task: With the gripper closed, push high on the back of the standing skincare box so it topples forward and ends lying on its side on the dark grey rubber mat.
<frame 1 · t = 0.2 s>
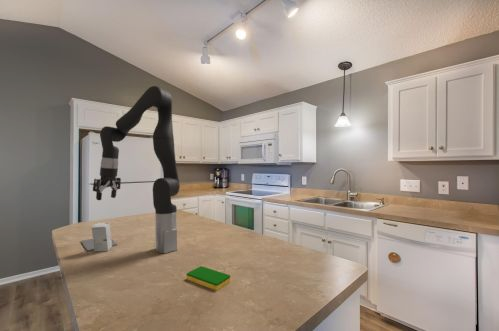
hand: (106, 198, 117), 22 cm above the counter, tool pointing down, fingers open, 8 cm apart
skincare box: (104, 249, 108), on the counter
dish sponge: (208, 281, 78), on the counter
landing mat: (98, 243, 117), on the counter
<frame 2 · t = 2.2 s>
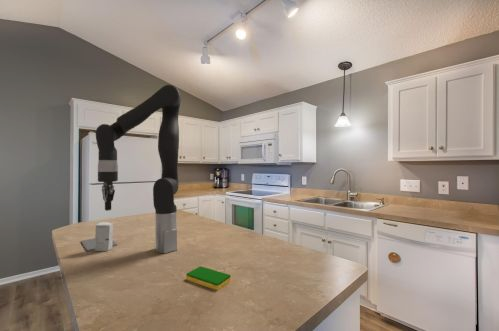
hand: (108, 210, 102), 19 cm above the counter, tool pointing down, fingers closed
skincare box: (104, 249, 108), on the counter, touching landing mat
everything else where it was.
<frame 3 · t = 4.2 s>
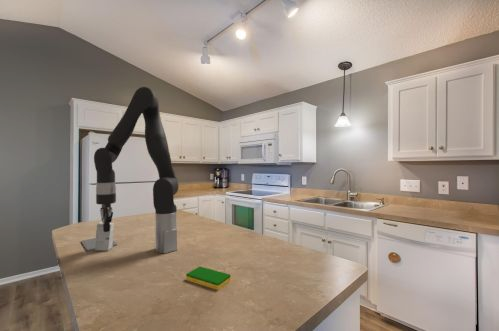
hand: (106, 231, 104), 10 cm above the counter, tool pointing down, fingers closed
skincare box: (104, 249, 108), on the counter, touching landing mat
everything else where it was.
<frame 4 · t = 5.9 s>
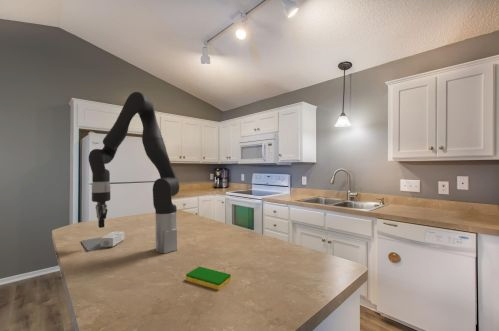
hand: (101, 227, 111), 10 cm above the counter, tool pointing down, fingers closed
skincare box: (106, 242, 110), point 3 cm above the counter, touching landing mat
everything else where it was.
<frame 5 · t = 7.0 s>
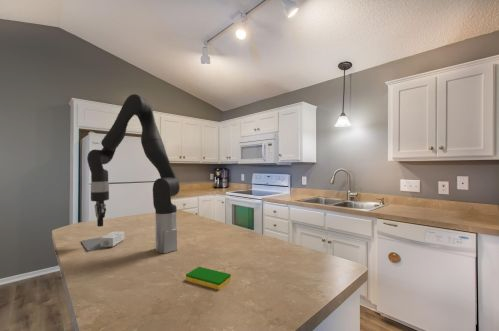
hand: (100, 226, 114), 10 cm above the counter, tool pointing down, fingers closed
nothing on the counter moved.
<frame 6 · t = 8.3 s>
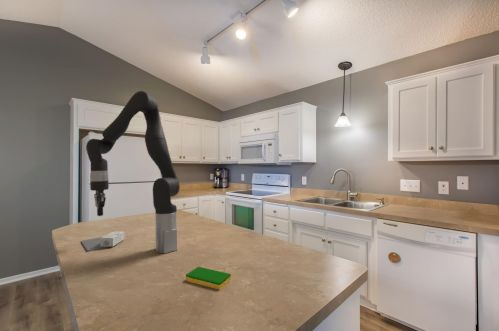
hand: (100, 215, 114), 15 cm above the counter, tool pointing down, fingers closed
nothing on the counter moved.
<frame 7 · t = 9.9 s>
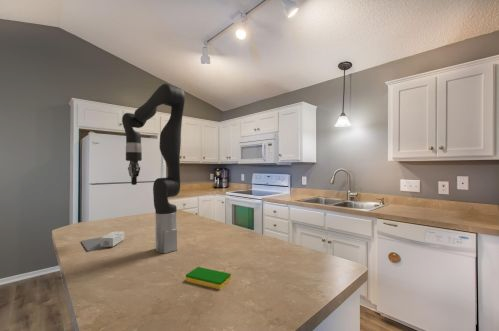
hand: (134, 184, 122), 29 cm above the counter, tool pointing down, fingers closed
nothing on the counter moved.
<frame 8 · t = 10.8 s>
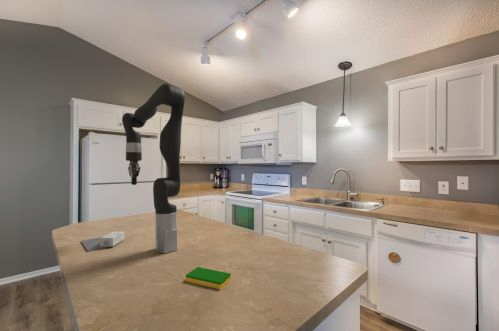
hand: (134, 184, 123), 29 cm above the counter, tool pointing down, fingers closed
nothing on the counter moved.
at the end: skincare box tilted 89°; skincare box inside the target area (3.1 cm from its centre), point 2.6 cm above the counter; skincare box touching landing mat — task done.
